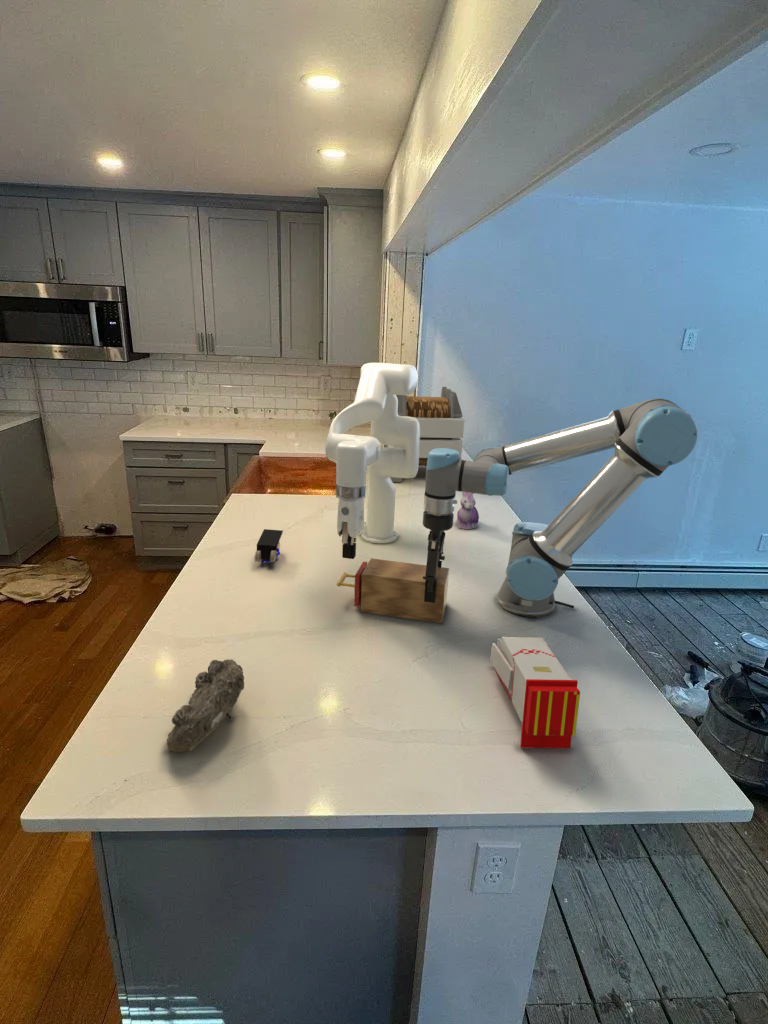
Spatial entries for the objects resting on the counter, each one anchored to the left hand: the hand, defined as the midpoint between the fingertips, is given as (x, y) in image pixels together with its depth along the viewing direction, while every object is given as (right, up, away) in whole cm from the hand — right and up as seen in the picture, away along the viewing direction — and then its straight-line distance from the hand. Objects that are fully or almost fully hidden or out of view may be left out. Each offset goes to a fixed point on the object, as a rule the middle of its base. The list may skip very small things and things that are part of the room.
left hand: (348, 557), depth 149 cm
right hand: (+22, -9, -2) cm, 24 cm away
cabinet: (+15, -14, +2) cm, 20 cm away
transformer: (+26, +31, +126) cm, 133 cm away
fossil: (-24, -27, -41) cm, 54 cm away
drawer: (+10, -12, +2) cm, 16 cm away
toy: (+38, -27, -32) cm, 57 cm away
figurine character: (-26, -3, +26) cm, 37 cm away
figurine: (+40, +7, +62) cm, 74 cm away
